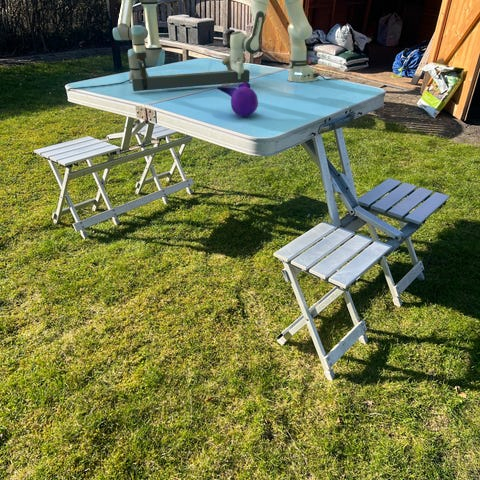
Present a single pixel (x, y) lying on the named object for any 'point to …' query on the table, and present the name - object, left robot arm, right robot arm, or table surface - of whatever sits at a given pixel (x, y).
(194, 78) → the bar
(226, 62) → the teapot
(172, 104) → the table surface
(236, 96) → the toy
